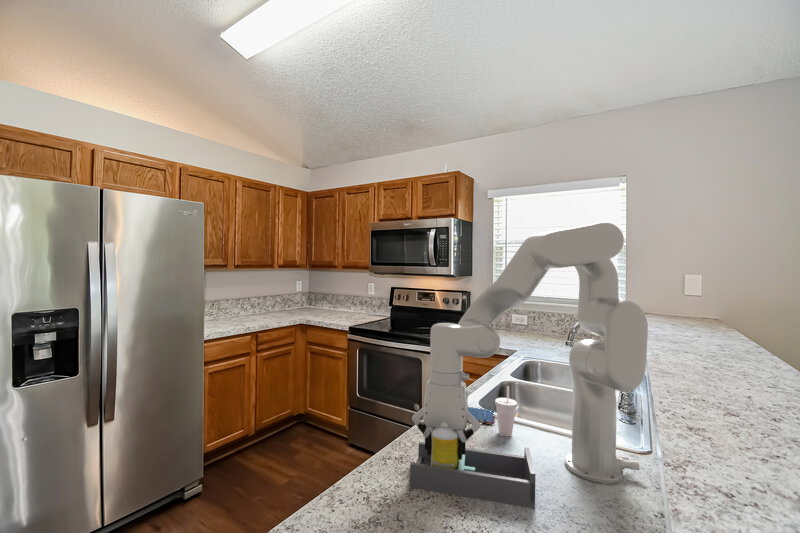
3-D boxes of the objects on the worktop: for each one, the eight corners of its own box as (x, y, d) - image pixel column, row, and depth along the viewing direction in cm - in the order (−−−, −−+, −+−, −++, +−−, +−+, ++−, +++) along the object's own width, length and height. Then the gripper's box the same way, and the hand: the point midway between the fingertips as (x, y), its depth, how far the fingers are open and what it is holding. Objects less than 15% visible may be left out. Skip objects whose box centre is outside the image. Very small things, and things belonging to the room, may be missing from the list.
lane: (528, 478, 82) (528, 448, 82) (534, 508, 72) (535, 474, 72) (419, 461, 88) (419, 433, 88) (409, 487, 78) (410, 455, 78)
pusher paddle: (475, 468, 84) (475, 455, 84) (474, 488, 76) (474, 474, 76) (460, 465, 85) (460, 453, 85) (457, 485, 77) (457, 471, 77)
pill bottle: (458, 477, 78) (459, 424, 78) (429, 473, 79) (429, 421, 79) (459, 461, 84) (460, 412, 84) (432, 458, 85) (433, 410, 86)
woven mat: (494, 428, 110) (494, 421, 110) (460, 423, 113) (460, 416, 113) (495, 415, 120) (495, 409, 120) (464, 411, 123) (464, 405, 123)
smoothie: (519, 439, 102) (520, 390, 102) (497, 438, 102) (498, 390, 102) (512, 429, 108) (513, 383, 108) (492, 428, 108) (492, 383, 109)
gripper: (484, 375, 83) (483, 451, 83) (412, 369, 88) (411, 442, 87) (484, 385, 76) (483, 469, 76) (406, 378, 80) (404, 457, 80)
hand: (445, 454), depth 82 cm, fingers closed on pill bottle, 6 cm apart
